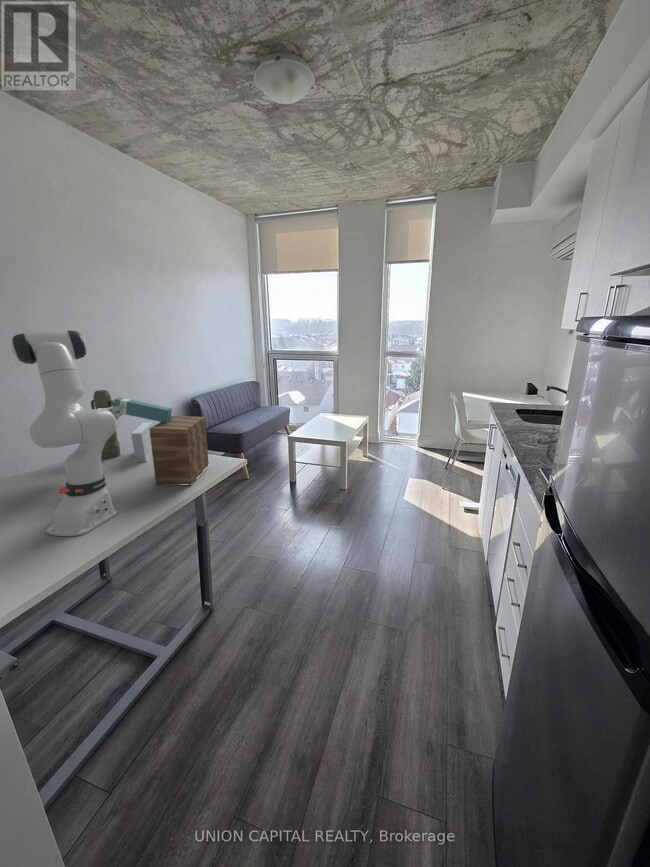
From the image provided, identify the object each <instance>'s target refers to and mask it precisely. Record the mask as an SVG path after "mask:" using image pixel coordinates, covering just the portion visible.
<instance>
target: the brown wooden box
mask: <svg viewBox="0 0 650 867" xmlns="http://www.w3.org/2000/svg"><path fill="white" fill-rule="evenodd" d="M206 426H207V424H206V417H205V416H189V415H188V416H184V415H171V421H170V422H168V423H164V422H159V423H157V424H155V425H153V427H151V428H149V431H150V439H151V447H152V455H151V456H152V462H153V469H154V470H153V472H154V478H155V485H158V484H188V485H189V484H190V485H191V484H192V483H193V482H194V481H195V480H196V478H197V477H198V476H199V475H200V474H201V473H202V472H203V470H204V469H205V468H206V467H207V466H208V464H209V465H210V462H209V451H208V449H209V448H208V438H207V427H206ZM196 481H197V480H196Z"/></svg>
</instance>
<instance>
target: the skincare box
mask: <svg viewBox="0 0 650 867" xmlns="http://www.w3.org/2000/svg"><path fill="white" fill-rule="evenodd" d="M153 426H154V425H153V422H152V421H149V422H142V423H141V424H140V425H139V426H138V427H137V428H135V430H133V432H131V434H130V437H131V441H132V446H133V451H134V457H135V458H134V459H135V463H147V462H148V460H149V459H150V458H151V456H152V455H151V454H152V447H151V439H150V431H149V428H151V427H153ZM149 457H150V458H149ZM146 461H147V462H146Z"/></svg>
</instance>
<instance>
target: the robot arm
mask: <svg viewBox="0 0 650 867" xmlns="http://www.w3.org/2000/svg"><path fill="white" fill-rule="evenodd" d="M10 346H11V350H12V354H14V357H16V359H17V360H18V361H19V362H21V363H24V364H29V365H30V364H31V365H34V364H37V370H38V373H39V377H40V381H41V385H42V388H43V392H44V397H45V399H44V406H43V408H42V411H41V413H40V414H39V416H37V417H36V419H34V420H33V421H32V423H31V424H30V426H29V430H28V431H29V433H28V434H29V437H30V439H31V441H32V442H33V443H34V444H35V445H36V446H37V447H38V448H39V447H40V448H41V449H44V448H45V449H47V448H48V449H49V448H51V449H53V448H61V447H62V448H63V447H67V446H73V445H77V444H79V445H78V446H77V448H76V449H75V450H74V451H73V452H71V453H70V454H68V456H67V457H66V458H65V459H64V461H63V462H64V463H63V468H64V472H65V477H66V482H65V487H59V488H58V493H59V494H64V496H63V498H62V499H61V501H60V503H59V504H58V506H57V507H56V509H55V511H54V512H53V516H52V517H53V520H52V521H53V522H52V524H51V525H49V527H47V529H46V534H48V535H50V536H57V537H58V536H59V537H77V536H81V535H85V534H87V533H90V531H92V530H94V529H96V528H97V527H99V526H100V525H101V524H103V523H105V522H106V521H108V520H110V519H112V518H113V517H114V516H116V515H117V514H118V511H117V510H116V509H115V508H114V504H113V501H112V498H111V495H110V493H109V491H108V489H107V487H106V486H107V480H106V479H107V478H106V477H105V475H104V473H103V472H104V471H103V466H102V465H103V464H102V450H103V447H104V445H105V443H106V442H107V440H108V439H109V438H110V437H111V436H112V435H113V434H114V433H115V431H116V432H117V427H118V421H117V420H119V419H120V417H122V416H123V415H124V414H121V413H117V411H118V410H120V409H122V408H124V406H123V405H122V404H120V405H118V406H116V407H109V408H99V409H96V408H95V409H92V408H91V409H87V408H85V406H83V405H82V404H80V403H79V402H77V401H78V400H80V399H81V398H82V397H83V395H84V393H85V390H84V386H83V383H82V379H81V376H80V373H79V370H78V367H77V364H76V362H75V359H76V360H79V359H82V358H84V357H85V356H86V355H87V352H88V344H87V341H86V340H85V338H84V336H82V333H80V332H79V331H76V330H69V329H68V330H51V331H50V330H49V331H46V330H42V331H33V332H28V333H24V332H21V333H19V334H15V335H14V336H13V337H12V338H11V345H10Z"/></svg>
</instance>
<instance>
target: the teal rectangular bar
mask: <svg viewBox="0 0 650 867" xmlns="http://www.w3.org/2000/svg"><path fill="white" fill-rule="evenodd" d="M120 404H122V405H123V406H124V408H122V409H120V410H118V411H117V413H121V414H123V415H126V416H132V417H136V418H142V419H145V420H146V419H147V420H150V421H156V422H159V423H160V422H164V423H168V422H170V421H171V416H172V414H173V413H172V410H173V409H172V407H167V406H163V405H158V404H152V403H148V402H145V401H138V400H135V399H131V398H126V397H125V398H124V397H117V398H114V407H116V406H118V405H120Z"/></svg>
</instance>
